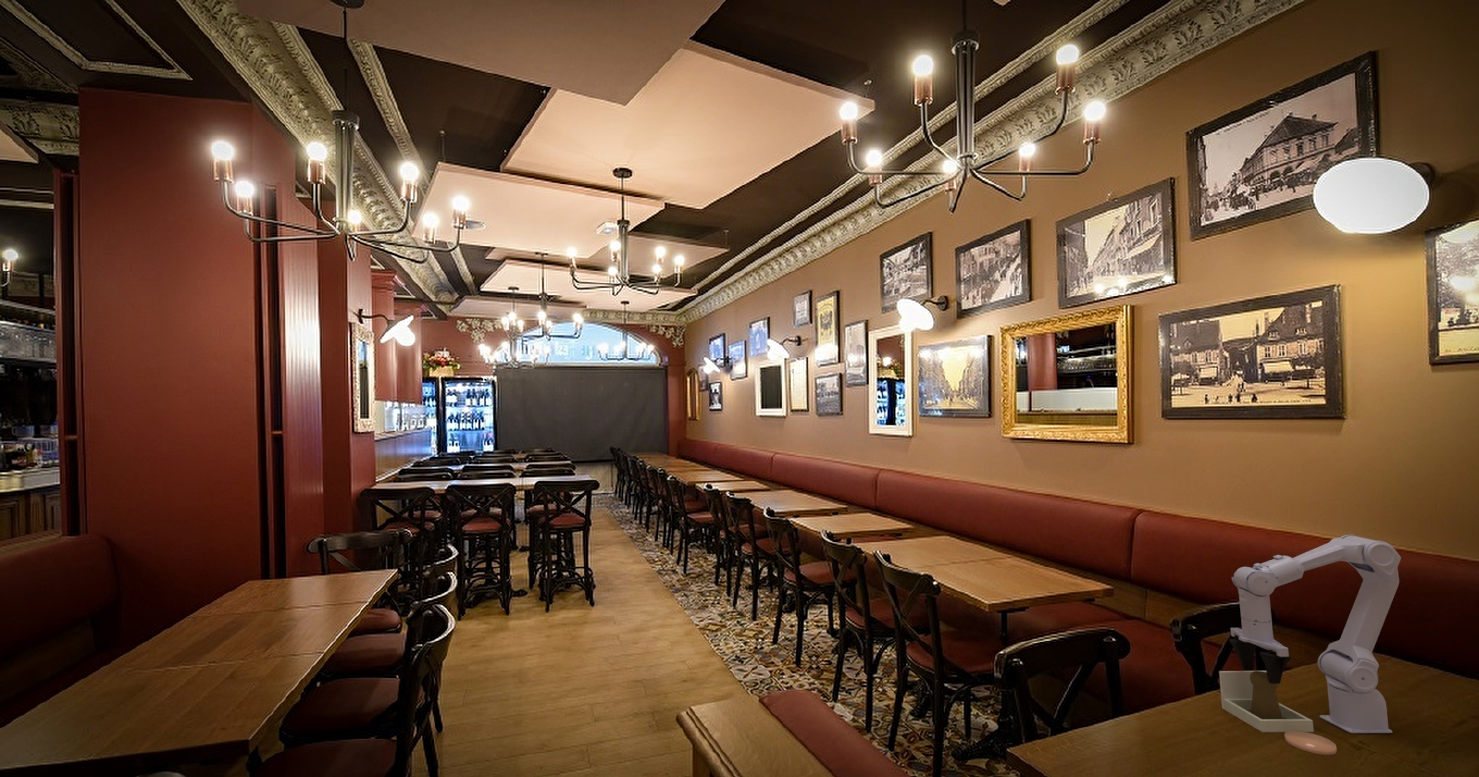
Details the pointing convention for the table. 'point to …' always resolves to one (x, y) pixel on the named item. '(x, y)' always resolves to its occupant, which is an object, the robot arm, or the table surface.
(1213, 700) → the table surface
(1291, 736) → the peach flat disc
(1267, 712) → the brown tapered cylinder
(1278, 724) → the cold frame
